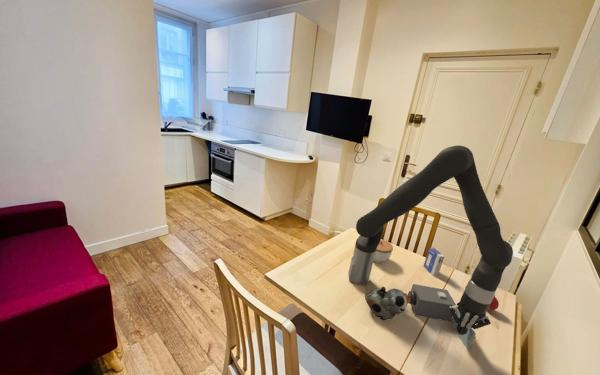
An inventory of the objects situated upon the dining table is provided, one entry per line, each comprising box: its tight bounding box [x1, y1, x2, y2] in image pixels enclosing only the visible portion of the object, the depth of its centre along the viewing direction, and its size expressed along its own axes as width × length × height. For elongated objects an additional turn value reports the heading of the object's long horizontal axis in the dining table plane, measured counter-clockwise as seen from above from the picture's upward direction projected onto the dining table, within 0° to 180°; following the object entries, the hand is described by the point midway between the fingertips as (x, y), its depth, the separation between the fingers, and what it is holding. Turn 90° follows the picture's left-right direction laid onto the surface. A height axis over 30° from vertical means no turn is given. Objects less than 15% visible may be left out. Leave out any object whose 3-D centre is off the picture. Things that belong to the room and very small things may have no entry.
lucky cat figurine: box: [364, 286, 411, 321], centre depth 98 cm, size 15×12×14 cm
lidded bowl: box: [373, 238, 394, 264], centre depth 133 cm, size 13×13×11 cm
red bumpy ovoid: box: [487, 294, 500, 311], centre depth 106 cm, size 6×6×8 cm
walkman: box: [423, 247, 445, 277], centre depth 127 cm, size 8×3×12 cm, turn 11°
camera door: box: [450, 310, 477, 350], centre depth 91 cm, size 12×2×7 cm, turn 176°
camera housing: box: [407, 283, 457, 323], centre depth 102 cm, size 16×9×9 cm, turn 83°
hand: (460, 332), depth 88 cm, fingers closed
